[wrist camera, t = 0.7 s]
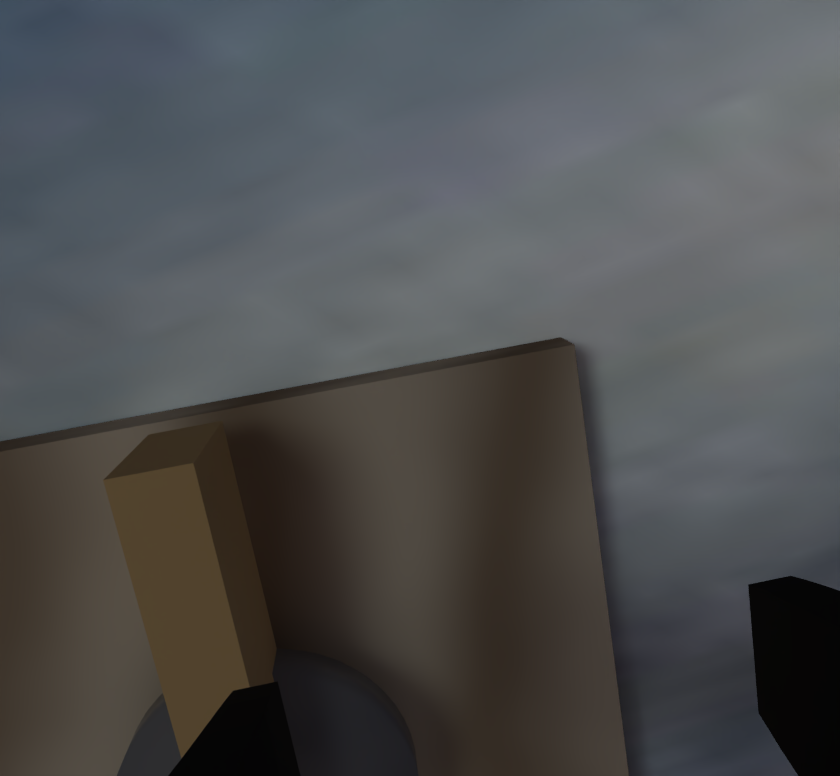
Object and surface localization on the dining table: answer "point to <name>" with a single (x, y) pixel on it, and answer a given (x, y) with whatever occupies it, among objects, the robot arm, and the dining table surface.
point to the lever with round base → (228, 620)
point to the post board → (342, 565)
